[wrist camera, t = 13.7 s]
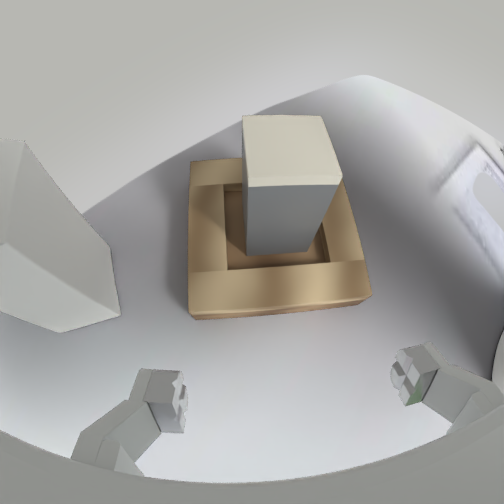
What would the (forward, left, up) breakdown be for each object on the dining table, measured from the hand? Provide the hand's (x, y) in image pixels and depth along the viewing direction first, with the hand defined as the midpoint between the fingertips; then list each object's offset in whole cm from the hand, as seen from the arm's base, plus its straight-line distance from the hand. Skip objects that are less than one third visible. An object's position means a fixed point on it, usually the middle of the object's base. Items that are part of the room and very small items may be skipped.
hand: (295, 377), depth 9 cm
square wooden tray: (-1, -12, -13) cm, 18 cm away
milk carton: (+17, -8, -13) cm, 22 cm away
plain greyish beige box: (-2, -12, -11) cm, 16 cm away
